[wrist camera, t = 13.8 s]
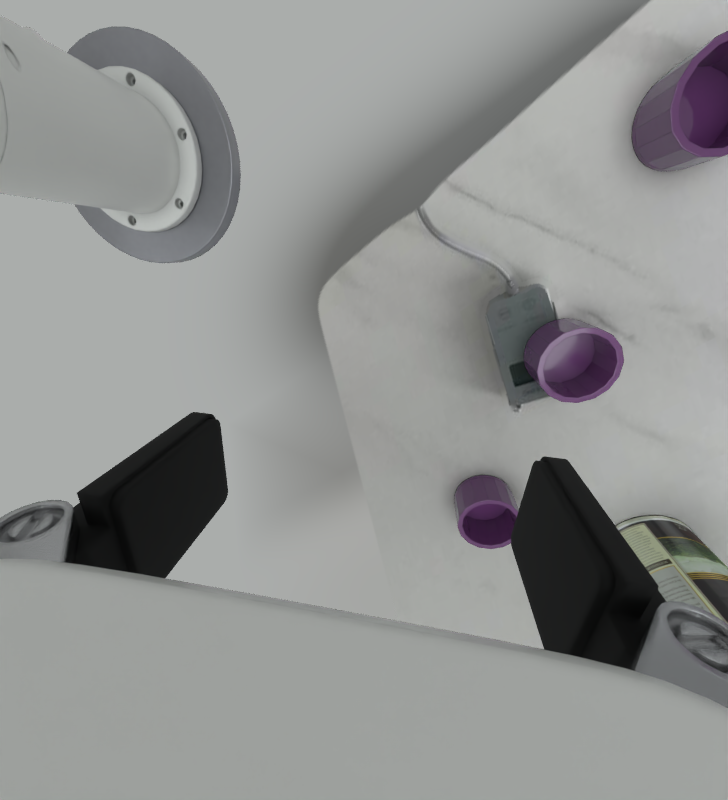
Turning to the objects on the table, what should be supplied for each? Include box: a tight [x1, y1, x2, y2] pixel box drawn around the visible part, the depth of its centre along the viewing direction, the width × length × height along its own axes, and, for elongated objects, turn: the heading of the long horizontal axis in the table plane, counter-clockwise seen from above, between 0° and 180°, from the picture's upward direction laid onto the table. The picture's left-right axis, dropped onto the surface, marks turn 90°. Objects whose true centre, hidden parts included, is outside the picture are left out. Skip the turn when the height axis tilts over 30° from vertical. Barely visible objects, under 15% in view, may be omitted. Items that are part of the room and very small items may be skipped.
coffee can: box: [616, 516, 728, 624], centre depth 34 cm, size 10×10×14 cm
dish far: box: [454, 475, 519, 549], centre depth 39 cm, size 7×7×4 cm
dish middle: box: [524, 318, 624, 403], centre depth 31 cm, size 7×7×4 cm
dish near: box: [632, 31, 728, 172], centre depth 24 cm, size 7×7×4 cm
